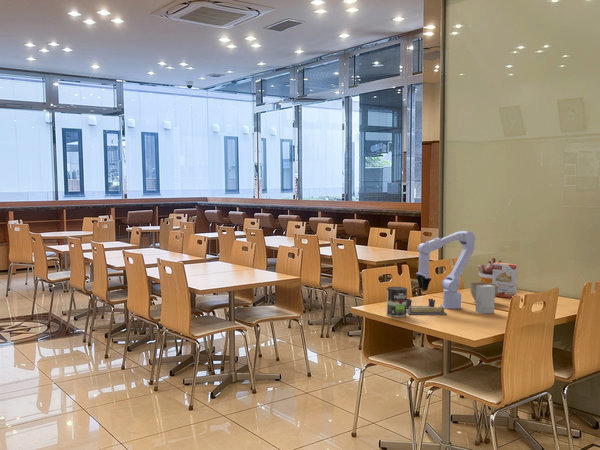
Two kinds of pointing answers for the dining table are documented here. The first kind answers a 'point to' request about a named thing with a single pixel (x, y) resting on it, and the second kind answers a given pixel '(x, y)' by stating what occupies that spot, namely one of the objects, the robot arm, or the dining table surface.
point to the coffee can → (396, 301)
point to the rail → (426, 309)
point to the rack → (431, 304)
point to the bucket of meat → (486, 272)
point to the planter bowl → (473, 285)
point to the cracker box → (505, 279)
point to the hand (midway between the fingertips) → (423, 289)
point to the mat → (425, 313)
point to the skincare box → (485, 299)
